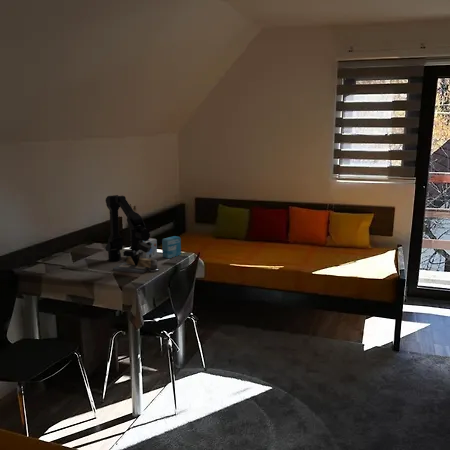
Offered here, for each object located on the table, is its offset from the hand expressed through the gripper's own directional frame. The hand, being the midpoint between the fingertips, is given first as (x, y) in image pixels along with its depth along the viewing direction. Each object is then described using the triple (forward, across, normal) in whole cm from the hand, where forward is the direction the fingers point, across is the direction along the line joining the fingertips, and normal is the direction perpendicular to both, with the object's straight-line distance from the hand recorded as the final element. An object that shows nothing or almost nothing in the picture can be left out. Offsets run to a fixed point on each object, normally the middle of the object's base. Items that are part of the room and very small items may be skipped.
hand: (136, 265), depth 272 cm
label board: (+3, +1, +3) cm, 4 cm away
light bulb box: (+2, +27, +6) cm, 28 cm away
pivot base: (+2, +1, -10) cm, 11 cm away
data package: (+2, +32, -8) cm, 33 cm away
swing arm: (+1, +3, -2) cm, 4 cm away
